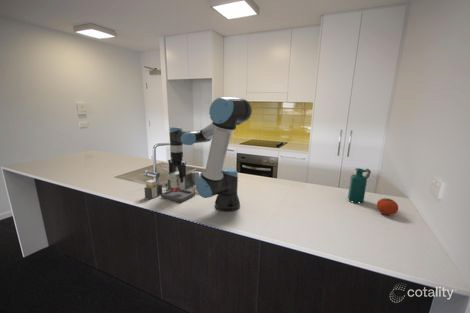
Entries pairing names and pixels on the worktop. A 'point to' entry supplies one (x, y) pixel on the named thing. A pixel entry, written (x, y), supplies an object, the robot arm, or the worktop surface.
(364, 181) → the green bottle
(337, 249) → the worktop surface
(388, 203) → the tomato
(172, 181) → the ink box
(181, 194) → the tray
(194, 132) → the robot arm
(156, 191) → the clip holder
